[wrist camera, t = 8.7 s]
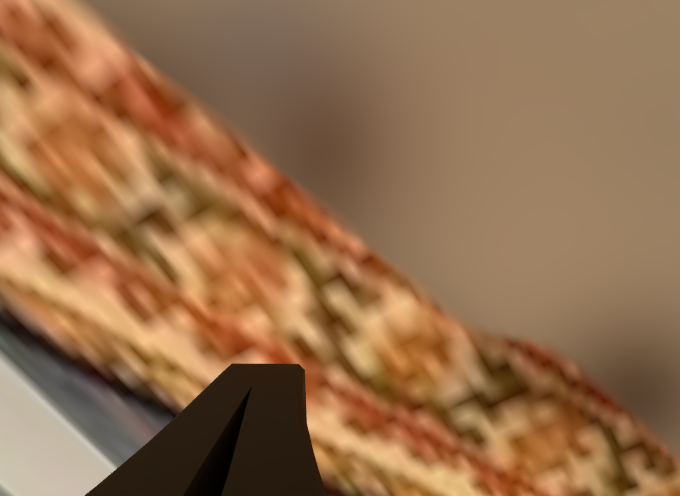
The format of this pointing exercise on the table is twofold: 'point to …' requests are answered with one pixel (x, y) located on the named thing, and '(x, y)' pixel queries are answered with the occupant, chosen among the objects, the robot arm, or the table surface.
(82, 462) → the table surface
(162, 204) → the table surface
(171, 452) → the robot arm
